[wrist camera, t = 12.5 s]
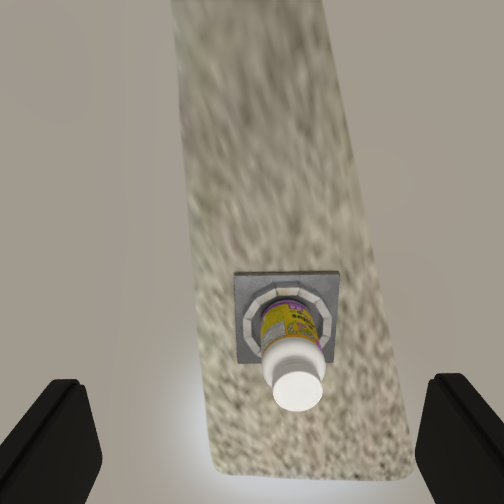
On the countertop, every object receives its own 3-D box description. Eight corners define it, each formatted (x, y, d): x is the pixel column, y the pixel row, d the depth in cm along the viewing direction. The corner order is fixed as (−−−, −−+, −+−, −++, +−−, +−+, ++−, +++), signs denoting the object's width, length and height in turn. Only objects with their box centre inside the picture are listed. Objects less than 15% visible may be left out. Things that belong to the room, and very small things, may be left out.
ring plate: (234, 272, 42) (233, 281, 40) (338, 271, 42) (342, 279, 40) (237, 358, 47) (237, 371, 44) (331, 357, 47) (335, 369, 44)
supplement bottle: (322, 324, 44) (347, 398, 32) (280, 350, 45) (290, 431, 33) (291, 287, 42) (306, 350, 30) (249, 316, 43) (248, 387, 31)
